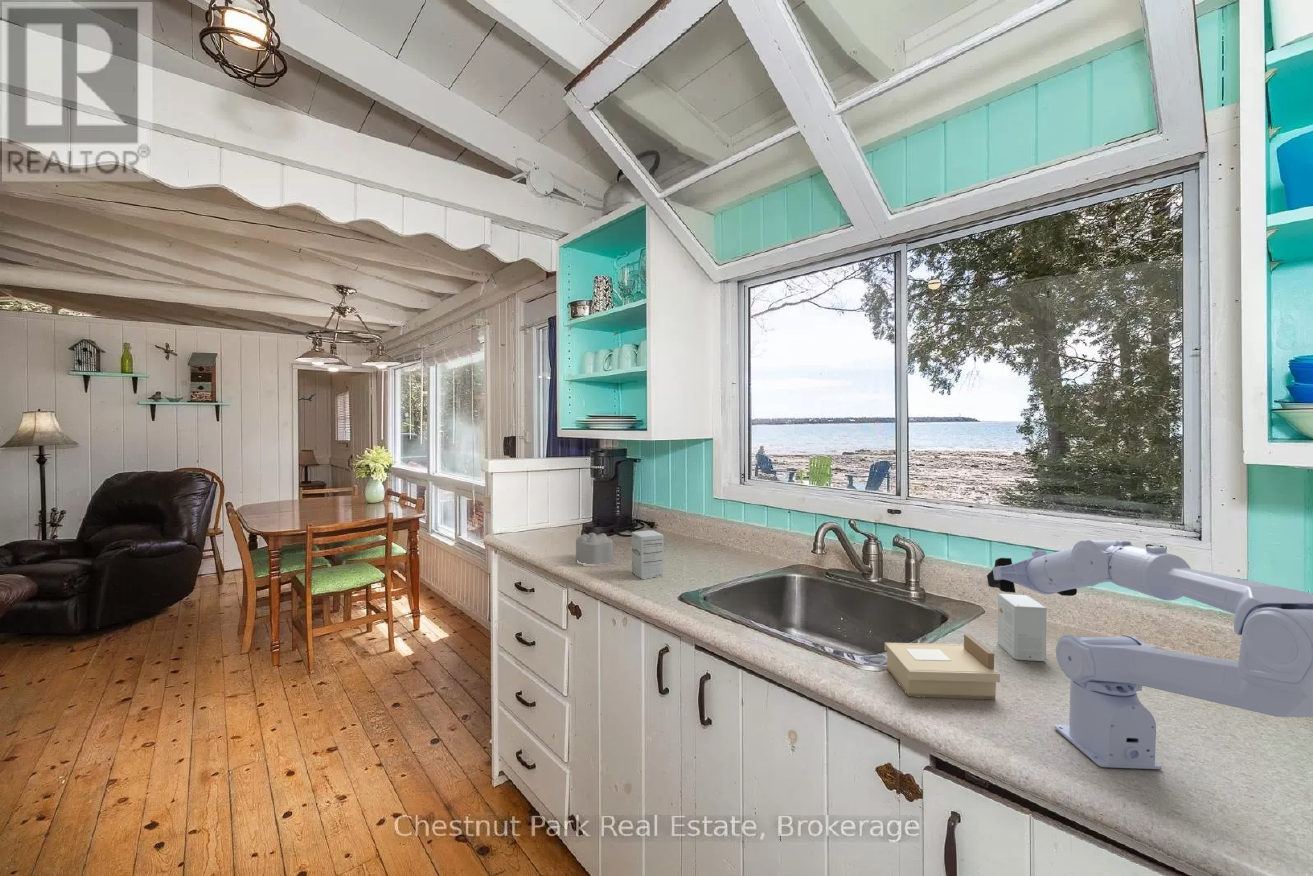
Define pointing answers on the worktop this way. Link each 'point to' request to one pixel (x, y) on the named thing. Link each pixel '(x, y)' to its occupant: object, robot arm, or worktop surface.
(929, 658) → the lid
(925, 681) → the mailer box
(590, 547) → the lumpy-topped squat cylinder
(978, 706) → the worktop surface
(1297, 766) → the worktop surface
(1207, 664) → the robot arm
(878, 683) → the worktop surface
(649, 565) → the supplement box
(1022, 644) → the small box
